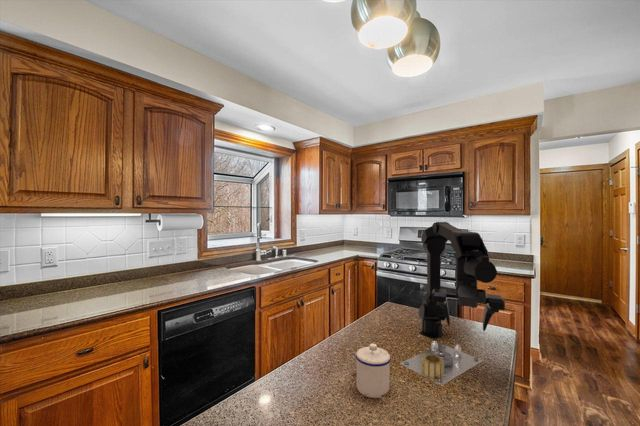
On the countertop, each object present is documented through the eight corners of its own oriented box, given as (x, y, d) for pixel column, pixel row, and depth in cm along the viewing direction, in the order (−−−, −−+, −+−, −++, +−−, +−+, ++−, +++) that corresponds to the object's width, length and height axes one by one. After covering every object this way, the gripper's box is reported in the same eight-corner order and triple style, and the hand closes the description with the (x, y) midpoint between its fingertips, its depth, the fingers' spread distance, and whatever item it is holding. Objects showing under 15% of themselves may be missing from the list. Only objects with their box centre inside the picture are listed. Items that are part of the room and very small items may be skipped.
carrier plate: (399, 365, 89) (399, 351, 89) (441, 346, 102) (441, 333, 102) (441, 388, 78) (441, 371, 78) (483, 363, 91) (483, 349, 91)
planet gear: (417, 371, 84) (417, 357, 84) (429, 365, 88) (429, 352, 88) (435, 381, 80) (436, 366, 80) (448, 374, 83) (448, 360, 83)
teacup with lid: (397, 392, 76) (398, 347, 76) (371, 403, 71) (371, 356, 71) (367, 370, 86) (367, 331, 86) (342, 379, 81) (342, 337, 81)
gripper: (431, 277, 82) (430, 332, 82) (508, 284, 75) (508, 345, 75) (433, 270, 92) (432, 319, 92) (501, 275, 85) (501, 329, 85)
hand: (466, 327), depth 86 cm, fingers open, 9 cm apart
